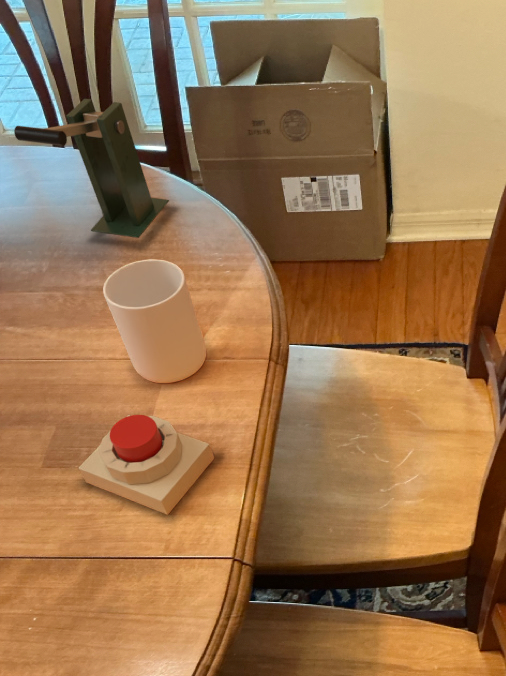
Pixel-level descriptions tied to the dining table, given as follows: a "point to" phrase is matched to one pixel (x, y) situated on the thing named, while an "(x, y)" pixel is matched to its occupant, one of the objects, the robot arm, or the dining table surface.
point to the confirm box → (150, 469)
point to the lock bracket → (115, 173)
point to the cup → (156, 320)
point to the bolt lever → (60, 131)
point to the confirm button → (136, 438)
